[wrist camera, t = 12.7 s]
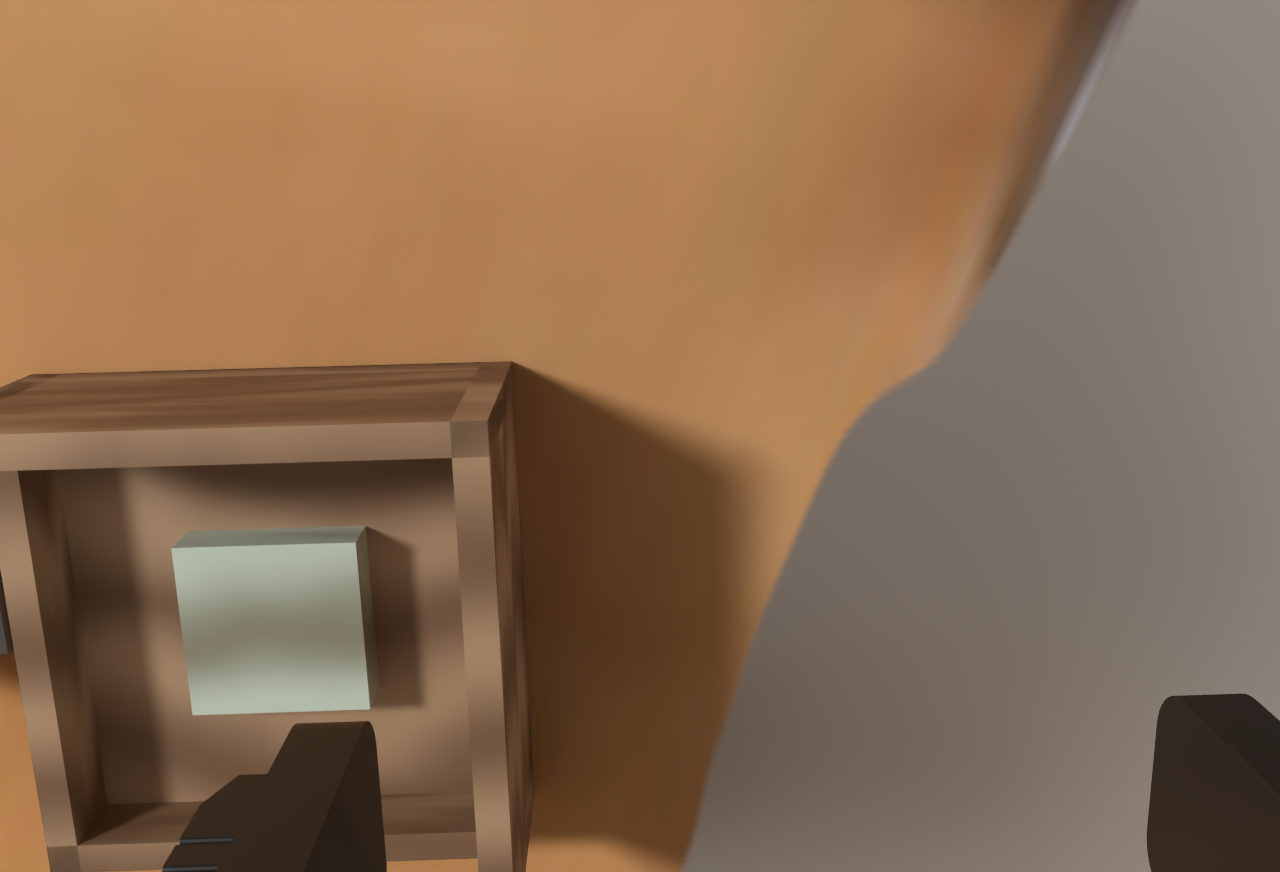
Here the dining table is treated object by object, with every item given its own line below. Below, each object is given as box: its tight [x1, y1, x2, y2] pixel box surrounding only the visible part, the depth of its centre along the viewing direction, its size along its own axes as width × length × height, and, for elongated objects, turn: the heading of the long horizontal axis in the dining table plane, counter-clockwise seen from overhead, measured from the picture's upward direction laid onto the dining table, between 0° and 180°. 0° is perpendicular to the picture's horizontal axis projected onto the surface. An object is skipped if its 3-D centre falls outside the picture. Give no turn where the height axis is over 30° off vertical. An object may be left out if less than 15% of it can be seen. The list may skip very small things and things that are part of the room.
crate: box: [0, 362, 534, 872], centre depth 45 cm, size 19×19×10 cm
